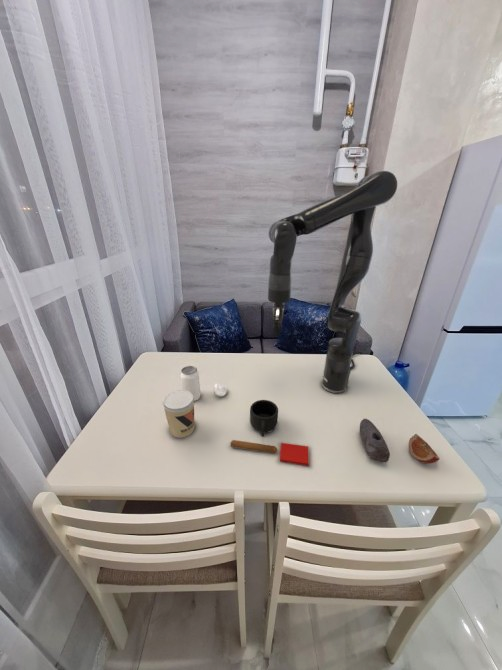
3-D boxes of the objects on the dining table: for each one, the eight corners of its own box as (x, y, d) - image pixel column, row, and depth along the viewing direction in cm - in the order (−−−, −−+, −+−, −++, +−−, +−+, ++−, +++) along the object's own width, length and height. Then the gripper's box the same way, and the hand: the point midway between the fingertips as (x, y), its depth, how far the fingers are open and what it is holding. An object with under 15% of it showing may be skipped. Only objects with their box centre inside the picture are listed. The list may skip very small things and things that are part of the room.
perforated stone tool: (353, 427, 87) (357, 410, 84) (369, 428, 86) (374, 411, 83) (368, 467, 73) (374, 449, 70) (388, 468, 73) (394, 450, 70)
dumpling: (213, 390, 104) (214, 381, 103) (226, 392, 105) (227, 383, 104) (211, 398, 97) (213, 389, 96) (225, 400, 98) (227, 391, 97)
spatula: (228, 453, 77) (228, 448, 76) (232, 437, 82) (232, 433, 81) (308, 466, 73) (309, 461, 72) (307, 448, 79) (308, 443, 78)
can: (196, 403, 96) (194, 376, 91) (180, 400, 98) (176, 373, 92) (203, 392, 102) (200, 366, 97) (187, 390, 103) (184, 364, 98)
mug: (251, 414, 91) (251, 398, 88) (277, 416, 91) (278, 400, 88) (247, 442, 80) (247, 424, 77) (277, 444, 80) (278, 426, 77)
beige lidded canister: (182, 444, 79) (178, 413, 74) (161, 431, 84) (155, 402, 79) (203, 425, 87) (200, 396, 81) (182, 414, 91) (178, 386, 86)
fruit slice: (401, 445, 80) (406, 433, 78) (423, 444, 80) (428, 432, 78) (418, 469, 73) (423, 457, 70) (442, 469, 73) (448, 456, 71)
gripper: (290, 292, 81) (287, 342, 88) (291, 282, 92) (288, 327, 100) (266, 291, 82) (264, 341, 89) (270, 281, 93) (268, 325, 101)
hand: (277, 333), depth 95 cm, fingers closed
